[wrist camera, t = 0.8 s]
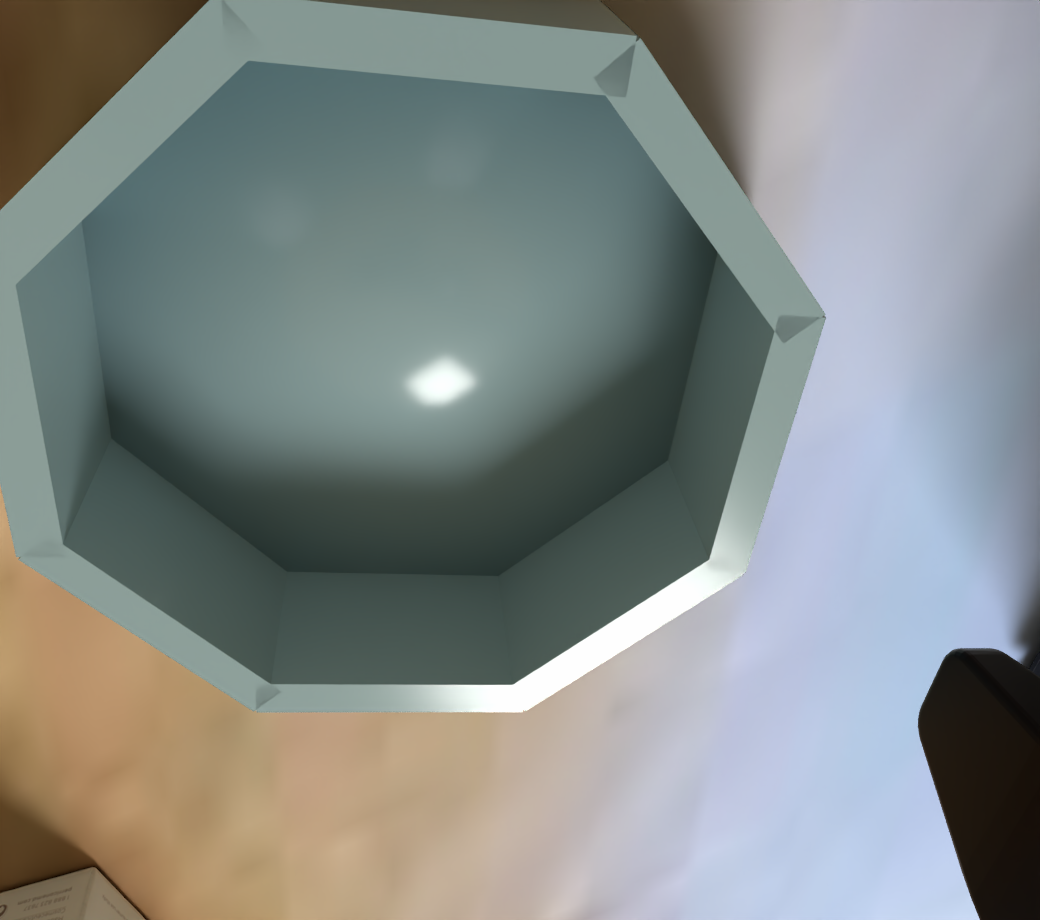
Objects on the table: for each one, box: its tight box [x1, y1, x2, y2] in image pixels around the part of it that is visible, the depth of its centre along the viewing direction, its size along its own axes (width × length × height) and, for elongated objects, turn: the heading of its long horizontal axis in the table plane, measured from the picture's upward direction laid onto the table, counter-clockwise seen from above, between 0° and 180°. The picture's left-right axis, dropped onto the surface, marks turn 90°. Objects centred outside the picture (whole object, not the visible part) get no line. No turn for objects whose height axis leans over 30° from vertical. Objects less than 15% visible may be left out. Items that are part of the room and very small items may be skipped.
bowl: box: [0, 0, 826, 712], centre depth 18 cm, size 13×13×4 cm
